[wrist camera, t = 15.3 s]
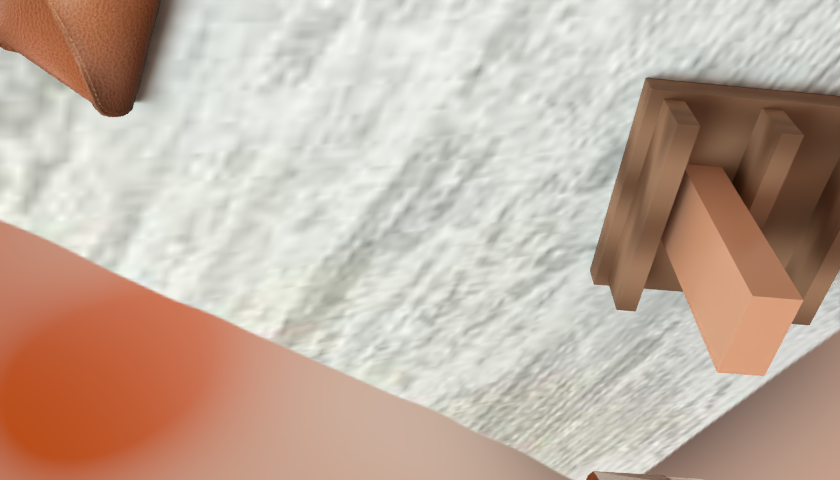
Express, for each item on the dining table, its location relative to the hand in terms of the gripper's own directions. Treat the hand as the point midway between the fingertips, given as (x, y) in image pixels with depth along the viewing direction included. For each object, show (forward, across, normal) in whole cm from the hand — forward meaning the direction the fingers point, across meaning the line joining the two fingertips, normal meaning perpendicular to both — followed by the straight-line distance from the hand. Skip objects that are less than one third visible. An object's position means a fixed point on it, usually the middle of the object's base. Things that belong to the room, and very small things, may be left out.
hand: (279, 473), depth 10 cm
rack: (+34, -22, +15) cm, 43 cm away
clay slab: (+32, -19, +15) cm, 40 cm away
